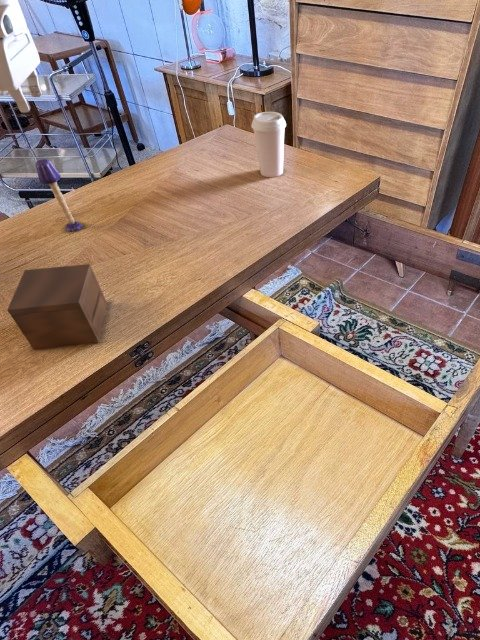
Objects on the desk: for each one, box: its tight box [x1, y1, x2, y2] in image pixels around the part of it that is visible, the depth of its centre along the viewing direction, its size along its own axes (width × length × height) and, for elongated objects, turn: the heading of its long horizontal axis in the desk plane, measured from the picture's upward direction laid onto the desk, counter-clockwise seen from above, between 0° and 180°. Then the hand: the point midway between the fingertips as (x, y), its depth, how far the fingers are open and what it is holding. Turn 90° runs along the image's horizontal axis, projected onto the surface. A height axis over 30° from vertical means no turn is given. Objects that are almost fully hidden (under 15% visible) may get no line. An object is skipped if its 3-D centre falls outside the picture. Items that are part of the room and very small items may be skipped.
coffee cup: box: [251, 111, 287, 178], centre depth 125 cm, size 10×10×15 cm
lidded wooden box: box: [6, 263, 108, 350], centre depth 84 cm, size 12×12×10 cm
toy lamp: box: [35, 158, 83, 233], centre depth 105 cm, size 5×5×17 cm
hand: (32, 103), depth 91 cm, fingers open, 8 cm apart
